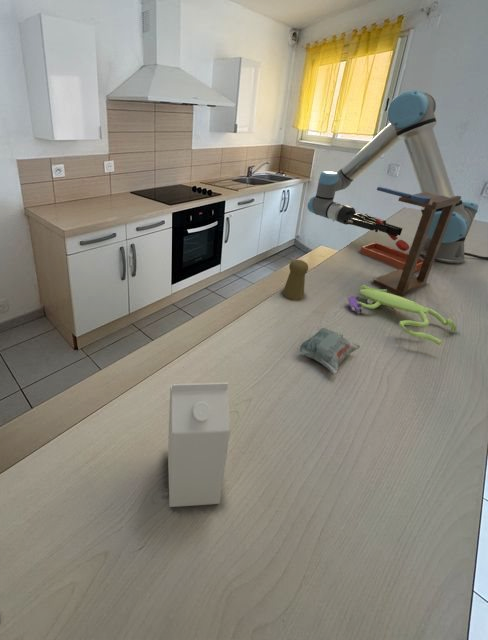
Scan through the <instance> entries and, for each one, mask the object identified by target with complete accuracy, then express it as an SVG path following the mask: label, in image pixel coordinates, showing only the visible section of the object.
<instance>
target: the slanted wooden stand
mask: <svg viewBox="0 0 488 640" xmlns="http://www.w3.org/2000/svg"><path fill="white" fill-rule="evenodd" d="M417 194H418V195H425V196H428V197H431V199H430V202H429V203H419V202H414V201H412V200H411V198H404V197H400V196H398V202H401V203H406V204H409V205H413V206H418V207H420V208H421V207H425V208H424V211H423V214H422V213H421V217H420V220H419V223H418V226H417V229H416V232H415V235H414V238H413V240H412V243H411V246H410V248H409V252H408V254H409V255H408V257H407V260H406V263H405V266H404V269H403V270H401V269H399V268H397V269H394V270H393V271H390V272H388V273H385V274H383V275H381V276H378V277H376V278H374V279H373V281H372V284H374V285H375V286H377V287H378V288H379V287H380V288H382V289H383V290H385V289H387V292H389V293H391V294H393V295H396V296H400V297H402V298H403V296H405V295H407V294H409V293H411V292H413V291H415V290H417V289H419V288H421V287H423V286H424V285H426V284H427V282H428V279H429V275H430V273H431V270H432V268H433V265H434V262H435V257H436V255H437V252H438V250H439V247H440V244H441V242H442V239H443V236H444V234H445V231H446V229H447V226H448V223H449V221H450V218H451V216H452V213H453V210H454V208H455V205H456V204H457V203H459V201H460V199H461V200H462V196H461V195H455V196H454V197H445V196H440V195H436V194H431V193H427V192H423V193H421V192H419V193H417ZM439 208H443V209H442V212H441V215H440V217H439V220H438V223H437V226H436V228H435V231H434V234H433V236H432V239H431V242H430V245H429V247H428V250H427V253H426V255H425V257H424V258H423V260H424V261H423V264H422V266H421V269H420V270H419V272H418V275H416V274H414V273H415V272H414V270H415V267H416V264H417V262H418V259H419V258H420V257H421V255H420V253H421V251H422V248H423V245H424V242H425V240H426V237H427V234H428V231H429V229H430V226H431V223H432V220H433V218H434V215H435V212H436V209H439Z"/></svg>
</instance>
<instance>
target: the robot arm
mask: <svg viewBox="0 0 488 640" xmlns="http://www.w3.org/2000/svg"><path fill="white" fill-rule="evenodd" d="M436 108H437V103H436V100H435V98H434V97H433V96H432V95H431V94H429V93H427V92H423V91H421V90H418V89H417V90H415V89H414V90H407V91H403V92H401V93H399V94H398V95H396V96H395V97H394V98H393V99H392V100H391V102H390V103H389V105H388V107H387V111H386V117H387V120H388V122H389V123H388V124H387V126H385V127H383V129H382V130H381V131H380V132H379V133H377V134H376V135H375V136H374V137H373V138H372V139H371V140H370V141H369V142H368V143H367V144H365V145H364V146H363V148H361V150H360V151H358V152H357V153H356V154H355V155H354V156H352V158H351V159H350V160H349V161H348V162H347V163H346V164H344V165H343V166H342V167H341V168H340V169H339V170H338V171H337V172H336V171H330V170H329V171H328V170H327V171H322V172H321V173H320V175H319V178H318V183H317V187H316V193H315V196H312V197H310V199H309V200H308V201H309V202H307V210H308V211H309V212H310V213H312V214H315V215H316V216H320V217H323V218H326V219H328V220H332V222H338V223H340V224H343V225H346V226H347V225H351V226H355V227H358V228H362V229H366V230H368V231H372V232H373V231H374V233H378V232H382V233H385V234H387V235H388V234H390V235H393V236H396V237H398V236H401V234H402V231H403V227H400V226H396V225H393V224H390V223H388V222H387V220H384V219H381V218H378V217H375V216H373V215H370V214H368V213H365V214H363V213H361V212H356V209H355V208H354V207H352V206H349V205H346V204H343V203H339V202H336V201H334V199H335V195H336V192H339V191H342V190H345V189H347V188H348V187H350V185H351V184H352V182H353V181H354V180H356V179H357V178H358V177H359V176H360V175H361V174H362V173H364V171H366V170H367V169H368V168H369V167H371V166H372V165H373V164H374V163H375V162H376V161H378V160H379V159H380V158H381V157H382V156H383V155H385V154H386V153H387V152H388V151H389V150H391V148H392V147H394V146H395V145H396V144H397V143H399V141H401V140H403V141H404V145H405V148H406V151H407V154H408V157H409V160H410V163H411V165H412V169H413V173H414V175H415V179H416V182H417V185H418V188H419V191H420V193H423V192H427V193H431V194H436V195H440V196H445V197H454V196H456V195H455V194H454V191H453V186H452V185H451V181H450V178H449V175H448V171H447V169H446V165H445V161H444V159H443V156H442V153H441V150H440V147H439V143H438V140H437V137H436V134H435V132H434V128H435V127H436V124H437V122H438V121H437V119H436V115H435V113H436ZM424 208H425V207H421V206H420V211H421V215H422V214H423V211H424ZM442 209H443V208H439V209H436V212H435V215H434V218H433V220H432V223H431V226H430V229H429V231H428V234H427V237H426V240H425V242H424V245H423V248H422V251H421V253H420V256H423V257H424V258H425V255H426V253H427V250H428V247H429V245H430V242H431V239H432V236H433V234H434V231H435V228H436V226H437V223H438V220H439V217H440V215H441V212H442ZM478 211H479V204H478V203H477V202H473V201H470V200H465V199H464V200H463V199H462V198H461V199H460V201H459V203H457V204H456V205H455V208H454V210H453V213H452V216H451V218H450V221H449V223H448V226H447V229H446V231H445V234H444V236H443V239H442V242H441V244H440V247H439V250H438V252H437V255H436V257H435V260H434V262H435V261H436V262H439V263H444V264H448V265H449V264H451V265H458V264H459V265H460V264H462V263H463V261H464V260H465V256H467V257H473V258H476V259H480V260H488V256H482V255H478V254H474V253H470V252H465V242H466V238H467V236H468V233H469V232H470V228H471V226H472V224H473V221H474V219H475V217H476V214H477V213H478ZM376 219H380V220H381V221H382V222H383V224H381V225H380V224H378V223H376V222H375V220H376Z"/></svg>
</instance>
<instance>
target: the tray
mask: <svg viewBox="0 0 488 640" xmlns="http://www.w3.org/2000/svg"><path fill="white" fill-rule="evenodd" d="M359 254H362V255H365V256H366V257H369V258H371V259H374V260H377V261H378V262H382V263H383V264H384V263H385V264H386V265H389V266H392V267H393V268H397V269H401V270H403V269H404V266H405V263H406V260H407V257H408V255H409V253H406V252H405V251H402V250H398V249H395V248H392V247H389V246H387V245H385V244H382V243H379V242H372V243H369V244H366V245H363V246H361V247H360V250H359ZM423 261H424V258H420V257H419V259H418V262H417V264H416V267H415V270H414V273H415V272H417V271H420V269H421V266H422V264H423Z"/></svg>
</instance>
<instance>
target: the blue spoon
mask: <svg viewBox="0 0 488 640" xmlns="http://www.w3.org/2000/svg"><path fill="white" fill-rule="evenodd" d="M376 191H379V192H382V193H385V194H390V195H394V196H397V197H404V198H411V200H412V201H414V202H419V203H429V202H430V199H431V197H428V196H425V195H418V193H415V194H410V193H406V192H403V191H398V190H395V189H391V188H387V187H383V186H377V187H376Z"/></svg>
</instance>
